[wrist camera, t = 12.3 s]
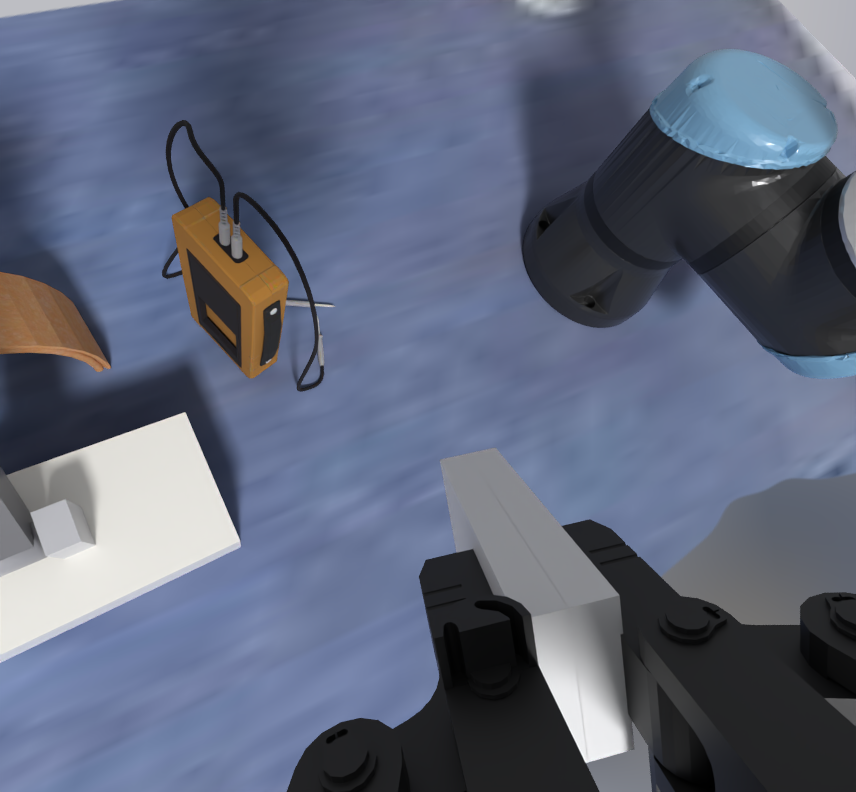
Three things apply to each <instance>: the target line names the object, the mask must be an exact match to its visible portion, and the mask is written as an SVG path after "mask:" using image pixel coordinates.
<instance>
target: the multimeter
mask: <svg viewBox="0 0 856 792" xmlns="http://www.w3.org/2000/svg"><path fill="white" fill-rule="evenodd" d="M182 126H185V127H186V129H187V133H188V137H189V140H190V142H191V144H192V146H193V148H194V149H195V151H196V152H197V154H198V155H199V157H200V158H201V159H202V160H203V162H204V163H205V164H206V165H207V166H208V168H209V169H210V170H211V171H212V173H213V174H214V175H215V177H216V178H217V180H218V182H219V186H220V199H221V206H220V205H219V204H218V203H217V202H216V201H215V200H214V199H212V198H210V197H207V198H205V199H203V200H202V201H200V202H198V203H196V204H194V205H192V206H190V207H189V206H188V205H187V203H186V201H185V199H184V197H183V195H182V193H181V191H180V189H179V187H178V185H177V182H176V179H175V176H174V173H173V169H172V163H171V147H172V142H173V139H174V136H175V134H176V132H177V131H178V130H179V129H180V128H181V127H182ZM166 160H167V166H168V171H169V174H170V178H171V181H172V183H173V186H174V188H175V191H176V193H177V195H178V197H179V199H180V201H181V202H182V204H183V206H184V208H185V209H184V210H182V211H180V212H178V213H176V214H174V215H172V223H173V228H174V233H175V238H176V243H177V248H176V250H175V251H174V252H173V254H172V255H171V257H170V258H169V260H168V261H167V263H166V265H165V266H164V269H163V271H162V276H163V277H164V278H167V279H168V278H172V277H176V276H179V275H182V274H183V278H184V283H185V287H186V292H187V297H188V302H189V306H190V311H191V315H192V317H193V318H194V320H195V321H196V322H197V323H198V324H199V325H200V327H202V328H203V329H204V330H205V331H206V332H207V333H208V334H209V336H210V337H211V338H212V339H213V340H214V341H215V342H216V343H217V344H218V345H219V346H220V347H221V349H222V350H223V351H224V352H225V353H226V354H227V355H228V356H229V357H230V358H231V359H232V360H233V361H234V363H235V364H236V365H237V366H238V367H239V368H240V369H241V371H242V372H243V373H244V374H245V375H246V376H247V377H248V378H254V377H256V376H257V375H258V374H260V373H261V372H262V371H264V370H265V369H267V368H268V367H269V366H271V365H272V364H274V363H275V362H276V361H277V355H278V349H279V343H280V337H281V332H282V325H283V318H284V311H285V305H286V306H300V307H310V308H311V312H312V316H313V322H314V330H315V345H314V349H313V353H312V355H311V357H310V359H309V362H308V364H307V365H306V367H305V369H304V371H303V373H302V375H301V377H300V379H299V381H298V384H297V390H298V391H306V390H309V389H312V388H314V387H316V386H318V385H319V384H320V383H321V381H322V379H323V376H324V353H323V343H322V338H323V336H322V335H320V330H319V320H318V317H317V314H316V309H315V306H323V307H334V306H333V305H327V304H314V301H313V297H312V293H311V290H310V287H309V284H308V282H307V279H306V276H305V273H304V271H303V269H302V267H301V265H300V262H299V260H298V258H297V256H296V254H295V252H294V251H293V249H292V247H291V245H290V244H289V242H288V240H287V239H286V237H285V236H284V234H283V233H282V232H281V230H280V229H279V227H278V226H277V225H276V223H275V222H274V221H273V220H272V219H271V217H270V216H269V215H268V214H267V213H266V212H265V211H264V210H263V208H262V207H261V206H260V205H259V204H258V203H257V202H256V201H254V200H253V199H252V198H251V197H249V196H248V195H246V194H244V193H241V192H237V193H236V194H235V195H234V198H233V207H234V220H233V219H232V218H231V217H230V216H229V215H228V214H227V208H226V207H225V188H224V182H223V179H222V177H221V175H220V174H219V172H218V171H217V169H216V168H215V167H214V165H213V164H212V163H211V162H210V161H209V159H208V158H207V157H206V156H205V154H204V153H203V152H202V150H201V149H200V147H199V145H198V144H197V142H196V140H195V137H194V134H193V130H192V127H191V125H190V124H189V123H188V122H187V121H186V120H182V121H179V122H177V123H176V124H175V125H174V126H173V128H172V129H171V131H170V133H169V135H168V139H167V144H166ZM240 197H241V198H243V199H245V200H246V201H247V202H249V203H250V204H251V205H252V206H253V207H254V208H255V209H256V210H257V211H258V212H259V213H260V214H261V215H262V216H263V217H264V219H265V220H266V221H267V222H268V223H269V225H270V226H271V227H272V228H273V230H274V231H275V232H276V234H277V235H278V237H279V238H280V239H281V241H282V242H283V244H284V246H285V247H286V249H287V251H288V253H289V254H290V256H291V258H292V260H293V262H294V264H295V266H296V268H297V270H298V272H299V275H300V277H301V280H302V282H303V285H304V288H305V290H306V293H307V297H308V300H309V302H308V301H295V300H286V298H287V291H288V284H289V281H288V279H287V278H286V276H285V275H284V274H283V272H282V271H281V270H280V269H279V268H278V267H277V266H276V265H275V264H274V263H273V262H272V261H271V260H270V259H269V258H268V257H267V256H266V255H265V254H264V252H263V251H262V250H261V249H260V248H259V247H258V246H257V245H256V244H255V243H254V242H253V241H252V240H251V239H250V237H249V236H248V235H247V234H246V233H245V232H244V231H243V230H242V229H241V228H240V221H239V198H240ZM178 253H179V258H180V263H181V268H182V271H180V272H177V273H174V274H171V275H166V271H167V269H168V267H169V265H170V264H171V262H172V261H173V259H174V258H175V256H176V255H177V254H178ZM317 350H318V360H319V364H320V366H321V377H320V380H319V381H318V382H317V383H316V384H314V385H312V386H309V387H305V388H300V385H301V383H302V380H303V379H304V377H305V375H306V373H307V371H308V369H309V368H310V366H311V364H312V362H313V360H314V358H315V355H316V353H317Z"/></svg>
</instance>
